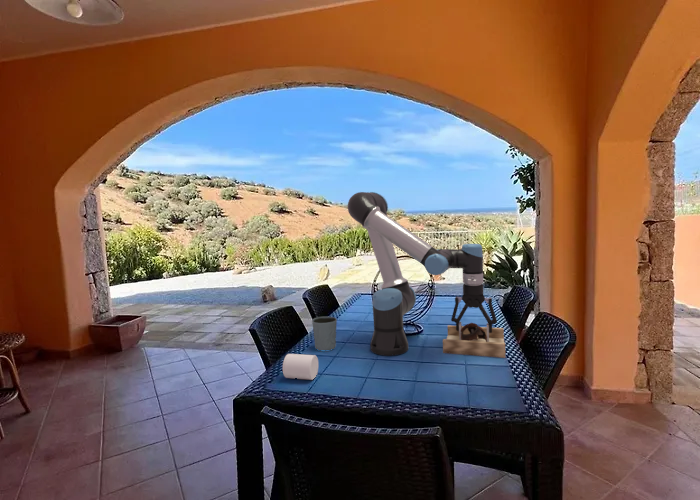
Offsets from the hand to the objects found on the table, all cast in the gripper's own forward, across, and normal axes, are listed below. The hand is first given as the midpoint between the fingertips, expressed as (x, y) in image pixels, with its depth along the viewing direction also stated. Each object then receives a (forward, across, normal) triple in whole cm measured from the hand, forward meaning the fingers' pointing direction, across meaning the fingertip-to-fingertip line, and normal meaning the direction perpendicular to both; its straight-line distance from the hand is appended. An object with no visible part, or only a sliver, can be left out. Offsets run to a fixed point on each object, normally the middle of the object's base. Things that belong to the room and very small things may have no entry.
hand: (474, 339), depth 149 cm
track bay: (+3, 0, 0) cm, 3 cm away
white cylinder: (+3, -55, -40) cm, 68 cm away
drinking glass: (+3, -58, -14) cm, 60 cm away
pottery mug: (+1, 0, 0) cm, 1 cm away
